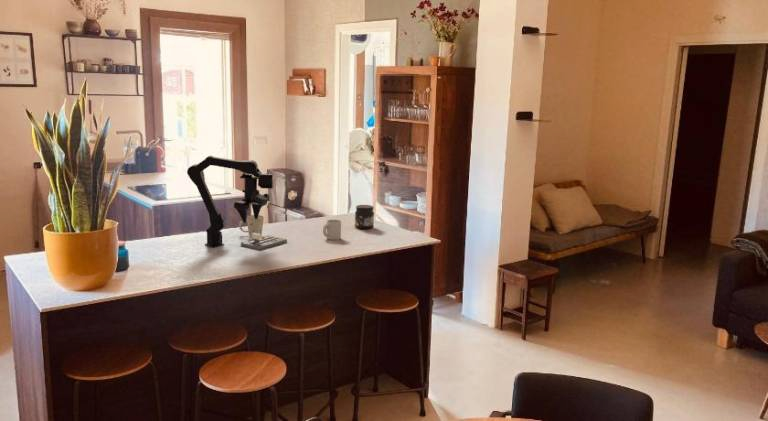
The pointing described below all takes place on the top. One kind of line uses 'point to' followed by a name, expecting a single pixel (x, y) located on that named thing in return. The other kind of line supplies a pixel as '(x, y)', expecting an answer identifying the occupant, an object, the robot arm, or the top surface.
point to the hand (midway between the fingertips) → (250, 220)
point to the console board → (264, 242)
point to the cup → (332, 229)
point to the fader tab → (256, 237)
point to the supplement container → (364, 217)
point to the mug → (253, 224)
